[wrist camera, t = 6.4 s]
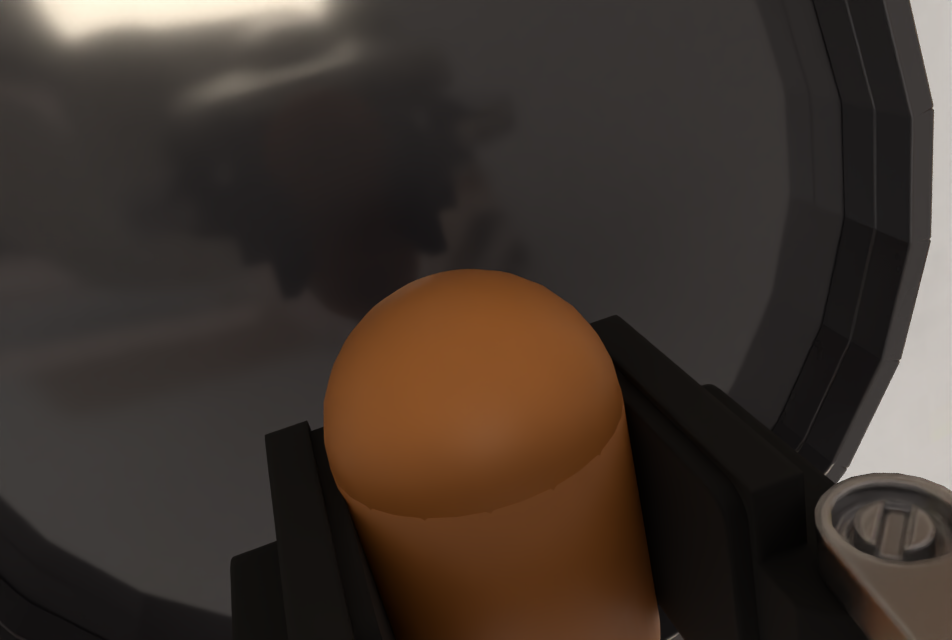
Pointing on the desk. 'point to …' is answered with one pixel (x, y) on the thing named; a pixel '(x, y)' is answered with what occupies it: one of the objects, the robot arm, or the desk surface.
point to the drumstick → (490, 465)
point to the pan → (411, 239)
